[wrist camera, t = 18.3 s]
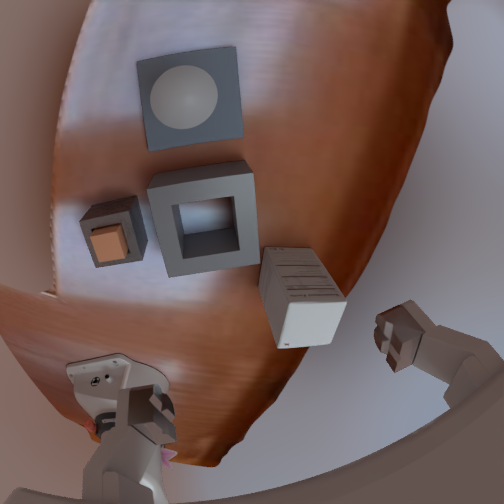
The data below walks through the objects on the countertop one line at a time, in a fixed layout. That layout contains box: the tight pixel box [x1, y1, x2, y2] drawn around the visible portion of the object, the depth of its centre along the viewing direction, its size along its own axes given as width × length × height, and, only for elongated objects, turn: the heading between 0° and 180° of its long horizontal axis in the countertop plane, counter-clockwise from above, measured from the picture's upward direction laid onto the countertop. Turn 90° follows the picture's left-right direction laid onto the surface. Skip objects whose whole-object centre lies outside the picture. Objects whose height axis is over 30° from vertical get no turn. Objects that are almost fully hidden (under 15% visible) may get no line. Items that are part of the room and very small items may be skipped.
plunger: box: [90, 223, 129, 262], centre depth 32 cm, size 3×3×6 cm
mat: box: [137, 47, 244, 152], centre depth 28 cm, size 11×11×1 cm
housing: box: [147, 160, 260, 278], centre depth 34 cm, size 11×11×6 cm
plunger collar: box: [79, 196, 148, 268], centre depth 33 cm, size 6×6×5 cm
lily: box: [161, 446, 177, 470], centre depth 66 cm, size 12×12×10 cm
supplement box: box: [258, 247, 347, 348], centre depth 38 cm, size 7×7×13 cm
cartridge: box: [150, 65, 218, 129], centre depth 23 cm, size 5×5×11 cm
